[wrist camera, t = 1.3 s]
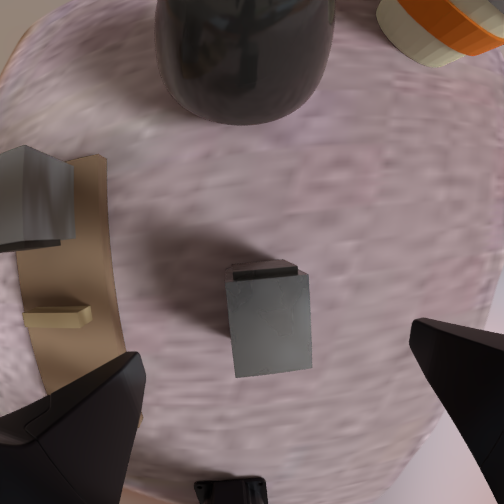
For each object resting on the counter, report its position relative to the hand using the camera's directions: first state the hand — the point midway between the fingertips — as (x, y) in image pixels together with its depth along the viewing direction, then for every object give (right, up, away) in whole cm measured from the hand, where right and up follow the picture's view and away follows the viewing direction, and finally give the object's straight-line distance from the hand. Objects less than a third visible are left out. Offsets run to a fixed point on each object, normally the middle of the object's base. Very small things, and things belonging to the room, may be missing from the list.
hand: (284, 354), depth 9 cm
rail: (-14, -1, +10) cm, 18 cm away
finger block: (0, 0, +12) cm, 12 cm away
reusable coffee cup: (+15, +25, +12) cm, 32 cm away
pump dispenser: (-2, +16, +11) cm, 19 cm away
